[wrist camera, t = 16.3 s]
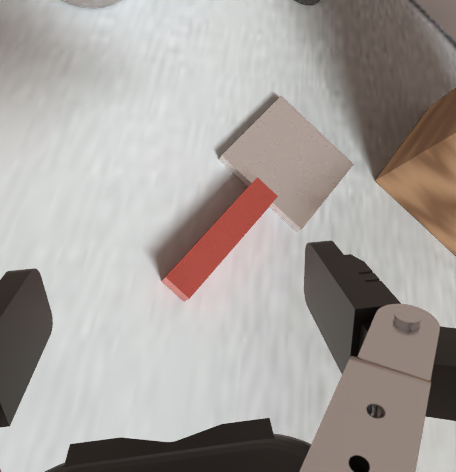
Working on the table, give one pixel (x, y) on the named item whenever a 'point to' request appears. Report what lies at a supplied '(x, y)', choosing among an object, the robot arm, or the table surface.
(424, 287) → the table surface
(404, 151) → the stand
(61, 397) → the table surface
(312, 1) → the sundae
